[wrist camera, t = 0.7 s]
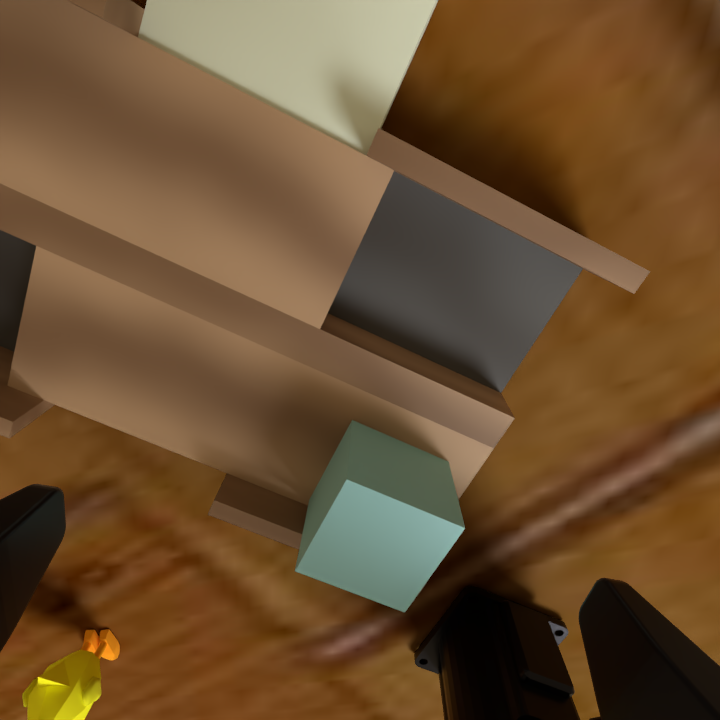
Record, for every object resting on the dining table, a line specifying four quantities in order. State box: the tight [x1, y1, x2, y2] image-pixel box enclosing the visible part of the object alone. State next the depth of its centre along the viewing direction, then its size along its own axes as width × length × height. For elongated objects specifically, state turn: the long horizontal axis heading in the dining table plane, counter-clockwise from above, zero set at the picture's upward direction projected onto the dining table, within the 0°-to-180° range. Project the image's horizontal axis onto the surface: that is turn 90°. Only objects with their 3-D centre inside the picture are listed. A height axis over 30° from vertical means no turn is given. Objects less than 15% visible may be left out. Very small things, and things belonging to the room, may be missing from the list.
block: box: [295, 420, 465, 612], centre depth 19 cm, size 4×4×4 cm
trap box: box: [0, 0, 650, 595], centre depth 18 cm, size 16×25×4 cm, turn 65°
